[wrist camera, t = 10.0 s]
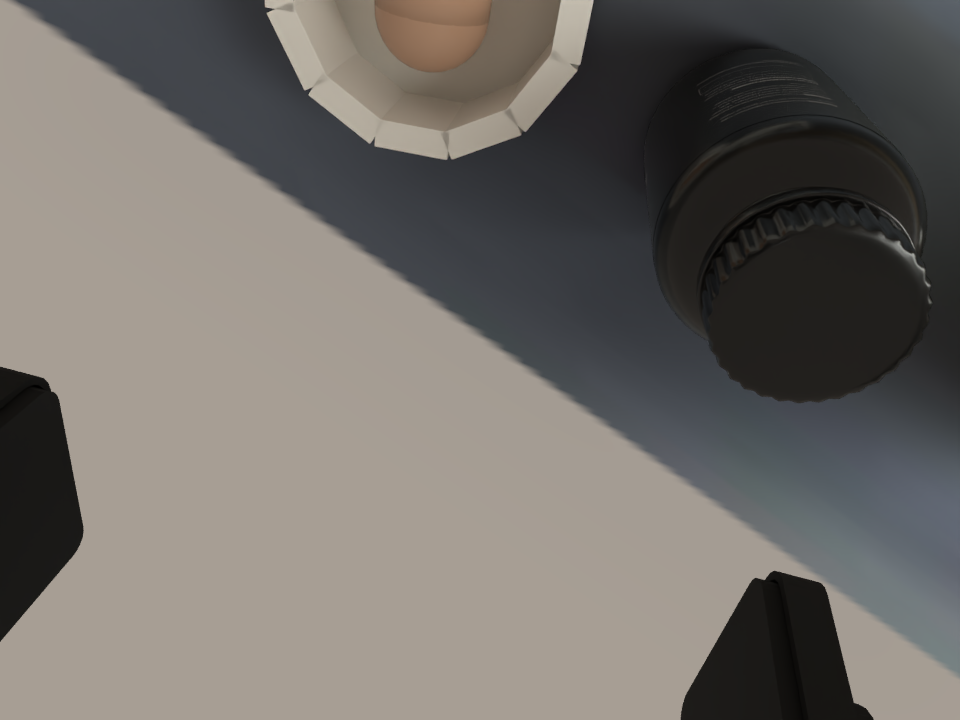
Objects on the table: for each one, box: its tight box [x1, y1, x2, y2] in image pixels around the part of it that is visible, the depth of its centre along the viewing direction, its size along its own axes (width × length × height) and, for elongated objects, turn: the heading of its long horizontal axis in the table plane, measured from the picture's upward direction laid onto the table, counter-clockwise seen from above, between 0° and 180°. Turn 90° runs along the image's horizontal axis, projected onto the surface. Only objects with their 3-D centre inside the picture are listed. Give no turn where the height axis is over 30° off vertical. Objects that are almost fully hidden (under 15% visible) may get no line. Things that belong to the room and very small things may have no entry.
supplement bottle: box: [644, 48, 933, 403], centre depth 22 cm, size 7×7×12 cm
